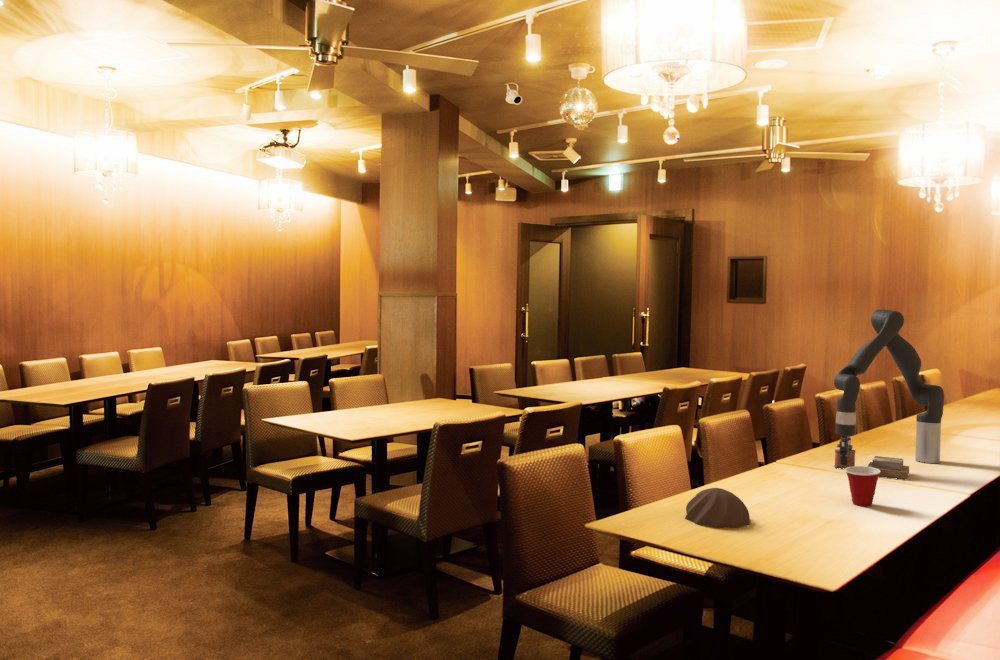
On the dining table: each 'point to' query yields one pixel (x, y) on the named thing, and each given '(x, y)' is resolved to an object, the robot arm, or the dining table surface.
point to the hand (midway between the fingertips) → (844, 463)
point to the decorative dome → (717, 509)
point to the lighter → (849, 458)
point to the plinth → (893, 472)
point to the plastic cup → (862, 484)
